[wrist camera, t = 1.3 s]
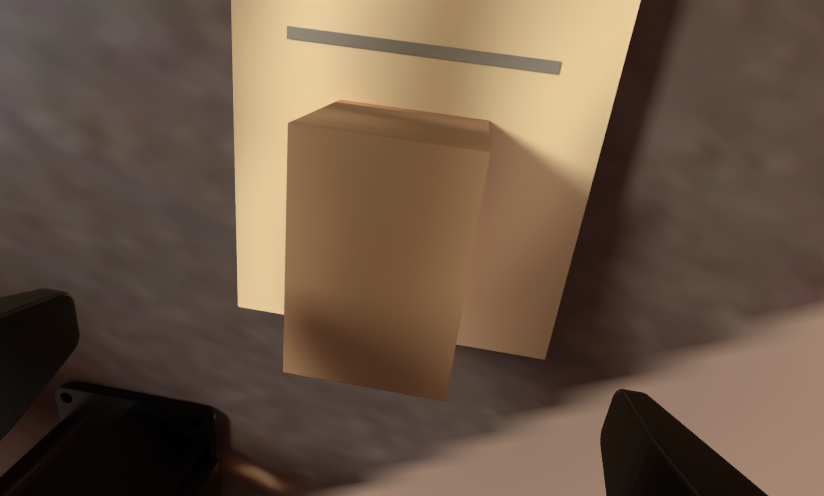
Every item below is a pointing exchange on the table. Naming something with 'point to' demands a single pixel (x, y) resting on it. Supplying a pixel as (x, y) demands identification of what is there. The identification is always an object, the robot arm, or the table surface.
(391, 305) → the block
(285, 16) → the birch board
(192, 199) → the table surface
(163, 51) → the table surface
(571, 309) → the table surface
